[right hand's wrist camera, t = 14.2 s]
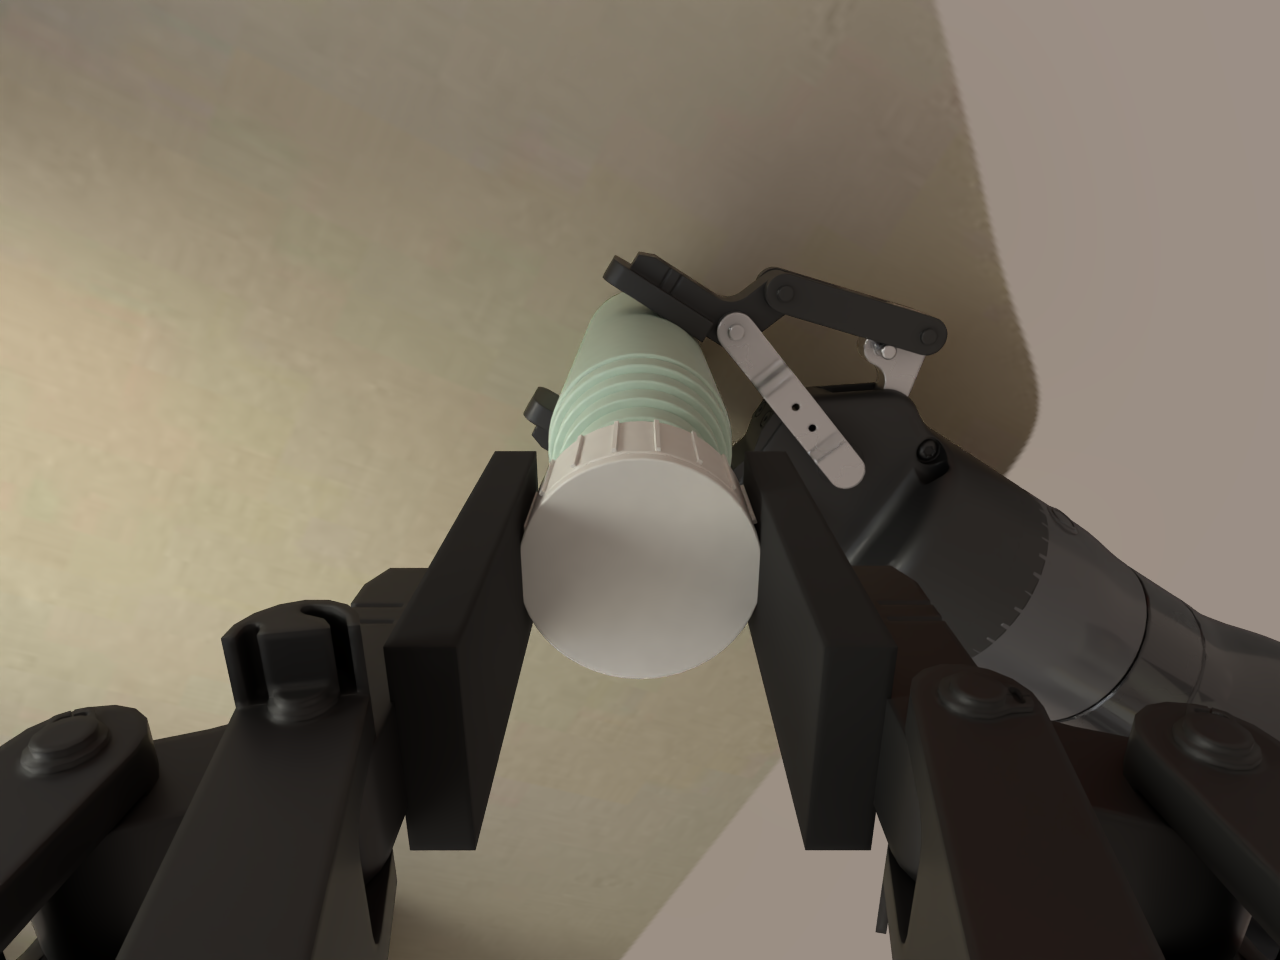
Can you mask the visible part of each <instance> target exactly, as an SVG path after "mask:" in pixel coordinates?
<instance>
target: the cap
mask: <svg viewBox="0 0 1280 960" xmlns="http://www.w3.org/2000/svg"><path fill="white" fill-rule="evenodd" d="M756 523H757V520H756V517H755V515H754V512H753V509H752V506H751V504H750V501H749V498H748V495H747V493H746V490H745V487H744V485H740V484H739V482H738V480H737V477H736V475H735V474H734V472H733V470H732V469H731V467H730V466H729V464H728V461H727V458H726V456H725V455H724V454H722V455H720V454H719V453H718V452H717V451H716V450H715V449H714V448H713V447H712V446H710V445H709V444H708V443H707V442H705V441H704V440H702V439H701V438H699V437H698V436H697V434H696V432H694V431H692V432H691V433H690V432H688V431H686V430H684V429H681V428H678V427H675V426H672V425H668V424H663V423H659V420H655V419H654V422H648V421H633V422H632V421H630V422H623V423H619V421H614V424H612V425H609V426H606V427H603V428H600V429H597V430H595V431H593V432H591V433H589V434H587V435H585V436H582V434H581V435H579V436H578V438H577V441H575V442H574V443H573V444H571V445H570V446H569V447H568V448H567V449H566V450H564V451H563V452H562V453H561V454H560V456H559V457H558V458H557V459H556V460H553V459H552V460H551V461H550V463H549V466H548V469H547V472H546V475H545V477H544V479H543V481H542V483H541V485H540V488H539V491H538V492H537V491H536V493H535V496H534V499H533V502H532V505H531V507H530V510H529V513H528V516H527V519H526V522H525V524H524V534H523V537H522V540H521V544H520V547H521V566H522V583H523V599H524V605H525V607H526V610H527V612H528V614H529V616H530V618H531V619H532V621H533V623H534V624H535V626H536V628H537V629H538V630H539V631H540V633H541V634H542V635H543V636H544V638H545V639H546V640H547V641H548V642H549V643H550V644H551V645H552V646H554V647H555V648H556V649H557V650H558V651H559V652H561V653H562V654H563V655H565V656H566V657H568V658H569V659H571V660H573V661H574V662H576V663H578V664H580V665H581V666H584V667H586V668H589V669H591V670H593V671H596V672H599V673H603V674H606V675H610V676H615V677H621V678H631V679H650V678H659V677H666V676H671V675H674V674H678V673H682V672H685V671H687V670H690V669H692V668H695V667H697V666H699V665H701V664H703V663H705V662H706V661H708V660H710V659H712V658H713V657H714V656H716V655H717V654H719V653H720V652H721V651H723V650H724V649H725V648H726V647H727V646H728V645H729V644H730V643H731V642H732V641H734V639H735V638H736V637H737V636H738V635H739V633H740V632H741V631H742V630H743V628H744V627H745V625H746V624H747V622H748V620H749V619H750V617H751V615H752V613H753V611H754V609H755V607H756V605H757V597H758V581H759V564H760V541H759V538H758V535H757V531H756V529H755V526H754V524H756Z"/></svg>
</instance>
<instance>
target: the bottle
mask: <svg viewBox="0 0 1280 960" xmlns="http://www.w3.org/2000/svg"><path fill="white" fill-rule="evenodd" d="M654 419H655V420H659V423H663V424H668V425H672V426H675V427H678V428H681V429H684V430H686V431H688V432H690V433H691V432H692V431H694V432H696V434H697V436H698V437H699V438H701V439H702V440H704V441H705V442H707V443H708V444H709V445H710V446H712V447H713V448H714V449H715V450H716V451H717V452H718V453H719V454H720V455H722V454H724V455H725V456H726V458H727V461H728V464H729V466H730V467H731V459H732V432H731V426H730V421H729V417H728V414H727V411H726V408H725V406H724V403H723V401H722V398H721V396H720V393H719V391H718V389H717V386H716V384H715V381H714V379H713V376H712V374H711V371H710V369H709V367H708V364H707V362H706V359H705V357H704V354H703V352H702V349H701V347H700V345H699V342H698V340H697V339H696V338H695V337H693V336H692V335H690V334H689V333H687V332H685V331H684V330H683V329H681V328H680V327H679V326H677V325H675V324H673V323H672V322H670V321H668V320H666V319H665V318H663V317H662V316H660V315H659V314H657V313H655V312H654V311H652V310H651V309H649V308H648V307H646V306H644V305H643V304H641V303H640V302H638V301H636V300H635V299H633V298H632V297H630V296H629V295H627V294H625V293H624V292H622V293H619V294H617V295H615V296H613V297H611V298H610V299H608V300H607V301H606V302H605V303H603V304H602V305H601V306H600V307H599V309H598V310H597V311H596V312H595V314H594V315H593V317H592V319H591V321H590V323H589V325H588V328H587V330H586V332H585V335H584V337H583V340H582V342H581V345H580V347H579V350H578V352H577V355H576V357H575V360H574V362H573V364H572V367H571V369H570V372H569V374H568V377H567V379H566V382H565V384H564V387H563V389H562V392H561V394H560V396H559V399H558V401H557V404H556V406H555V409H554V412H553V415H552V418H551V422H550V428H549V441H548V443H549V449H548V455H549V463H550V461H551V460H552V459H553V460H556V459H557V458H558V457H559V456H560V454H561V453H562V452H563V451H564V450H566V449H567V448H568V447H569V446H570V445H571V444H573V443H574V442H575V441H577V438H578V436H579V435H581V434H582V436H585V435H587V434H589V433H591V432H593V431H595V430H597V429H600V428H603V427H606V426H609V425H612V424H614V421H619V423H623V422H630V421H632V422H633V421H648V422H654Z"/></svg>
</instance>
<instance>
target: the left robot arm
mask: <svg viewBox="0 0 1280 960" xmlns="http://www.w3.org/2000/svg"><path fill="white" fill-rule="evenodd" d="M603 278H604V279H605V280H606V281H607V282H609V283H610V284H611V285H613V286H614V287H616V288H618V289H619V290H621V291H622V292H624V293H625V294H627V295H629V296H630V297H632V298H633V299H635V300H636V301H638V302H640V303H641V304H643V305H644V306H646V307H648V308H649V309H651V310H652V311H654V312H655V313H657V314H659V315H660V316H662V317H663V318H665V319H666V320H668V321H670V322H672V323H673V324H675V325H677V326H679V327H680V328H681V329H683V330H684V331H685V332H687V333H689V334H690V335H692V336H693V337H695V338H696V339H698V340H700V341H701V342H703V340H704V339H705V337H708V338H710V339H711V340H713V341H714V342H716V343H717V344H719V345H721V346H722V347H724V349H725V350H726V351H727V352H728V353H729V355H730V356H731V357H732V358H733V360H734V361H735V362H736V363H737V365H738V366H739V367H740V368H741V370H742V371H743V372H744V373H745V375H746V376H747V377H748V378H749V380H750V381H751V382H752V383H753V385H754V386H755V387H756V389H757V390H758V391H759V393H760V394H761V395H762V397H763V398H764V400H763V401H762V403H761V404H760V405H759V407H758V408H757V410H756V411H755V413H754V414H753V416H752V419H751V422H750V424H749V427H748V430H747V433H746V435H745V436H744V437H743V438H742V439H741V440H740V441H739V442H738V443H736V444H735V445H734V446H733V447H732V459H731V469H732V470H733V472H734V474H735V475H736V477H737V480H738V482H739V484H740V485H743V476H744V455H745V451H786V452H787V454H788V456H789V458H790V459H791V461H792V463H793V465H794V466H795V468H796V470H797V472H798V473H799V475H800V477H801V479H802V480H803V482H804V484H805V486H806V487H807V489H808V491H809V493H810V494H811V496H812V498H813V500H814V501H815V503H816V505H817V507H818V508H819V510H820V512H821V514H822V515H823V517H824V519H825V521H826V522H827V524H828V526H829V527H830V529H831V531H832V533H833V534H834V536H835V538H836V540H837V541H838V543H839V545H840V547H841V548H842V550H843V552H844V554H845V555H846V557H847V559H848V561H849V562H850V564H851V566H893V567H894V568H896V569H897V570H899V571H900V572H902V573H904V574H905V575H907V576H908V577H910V578H911V579H913V580H915V581H916V582H917V583H918V584H919V586H920V587H921V588H922V590H923V591H924V593H925V594H926V595H927V597H928V598H929V600H930V603H931V605H934V607H935V608H936V609H937V611H938V612H939V614H940V615H941V616H942V621H945V622H946V623H947V625H948V626H949V627H950V629H951V630H952V632H953V633H954V634H955V636H956V637H957V639H958V640H959V641H960V643H961V644H962V645H963V647H964V648H965V650H966V651H967V652H968V654H969V655H970V657H971V658H972V659H973V661H974V662H975V664H976V665H977V666H978V667H981V668H986V669H990V670H992V671H995V672H997V673H1000V674H1002V675H1005V676H1007V677H1010V678H1012V679H1014V680H1015V681H1017V682H1018V683H1020V684H1021V685H1023V686H1024V687H1026V688H1027V689H1029V690H1030V691H1032V692H1033V694H1034V695H1035V696H1036V697H1037V699H1038V700H1039V701H1040V702H1041V704H1042V705H1043V706H1044V708H1045V710H1046V712H1047V714H1048V716H1049V718H1050V720H1051V721H1055V722H1059V723H1063V724H1067V725H1071V726H1075V727H1080V728H1085V729H1090V730H1095V731H1100V732H1105V733H1110V734H1115V735H1120V736H1126V737H1129V736H1130V732H1131V728H1132V724H1133V721H1134V717H1135V714H1136V713H1138V712H1139V711H1140V710H1141V709H1142V708H1144V707H1145V706H1146V705H1150V704H1156V703H1161V702H1178V703H1190V704H1199V705H1204V706H1208V708H1212V707H1213V708H1216V709H1219V710H1222V711H1226V712H1228V713H1230V714H1231V715H1233V716H1235V717H1237V718H1239V719H1242V720H1244V721H1246V722H1249V723H1251V724H1253V725H1255V726H1257V727H1258V728H1260V729H1262V730H1263V731H1265V732H1266V733H1268V734H1269V735H1271V736H1272V737H1274V738H1275V739H1277V740H1279V741H1280V642H1278V641H1276V640H1273V639H1271V638H1268V637H1266V636H1263V635H1260V634H1257V633H1254V632H1251V631H1248V630H1245V629H1241V628H1238V627H1235V626H1231V625H1228V624H1225V623H1222V622H1220V621H1217V620H1214V619H1212V618H1209V617H1207V616H1204V615H1202V614H1200V613H1198V612H1197V611H1196V610H1194V609H1193V608H1192V607H1190V606H1189V605H1188V604H1186V603H1185V602H1183V601H1182V600H1180V599H1179V598H1177V597H1175V596H1174V595H1172V594H1171V593H1169V592H1168V591H1166V590H1164V589H1163V588H1161V587H1160V586H1158V585H1157V584H1155V583H1154V582H1152V581H1151V580H1149V579H1147V578H1146V577H1144V576H1143V575H1141V574H1140V573H1138V572H1137V571H1135V570H1134V569H1132V568H1130V567H1129V566H1127V565H1126V564H1125V563H1124V562H1122V561H1121V560H1119V559H1118V558H1117V557H1116V556H1114V555H1113V554H1112V553H1111V552H1110V551H1109V550H1108V549H1107V548H1105V547H1104V546H1103V545H1102V544H1101V543H1100V542H1099V541H1098V540H1097V539H1096V538H1095V537H1093V536H1092V535H1091V534H1090V533H1089V532H1087V531H1086V530H1085V529H1083V528H1082V527H1080V526H1079V525H1078V524H1076V523H1075V522H1073V521H1072V520H1070V519H1069V518H1068V517H1067V516H1066V515H1065V514H1064V513H1063V512H1061V511H1060V510H1058V509H1056V508H1053V507H1051V506H1049V505H1047V504H1046V503H1044V502H1042V501H1041V500H1039V499H1038V498H1036V497H1035V496H1033V495H1032V494H1030V493H1029V492H1027V491H1026V490H1024V489H1022V488H1020V487H1019V486H1018V485H1016V484H1015V483H1013V482H1012V481H1010V480H1009V479H1007V478H1006V477H1004V476H1003V475H1001V474H999V473H998V472H996V471H995V470H993V469H992V468H990V467H989V466H987V465H986V464H984V463H983V462H981V461H979V460H978V459H976V458H975V457H973V456H972V455H970V454H969V453H967V452H966V451H964V450H963V449H961V448H960V447H958V446H956V445H955V444H953V443H952V442H950V441H949V440H947V439H946V438H944V437H943V436H941V435H940V434H938V433H936V432H935V431H933V430H932V429H930V428H929V427H927V426H926V425H925V424H924V422H923V421H922V419H921V417H920V415H919V413H918V411H917V408H916V406H915V404H914V403H913V402H912V400H911V399H910V398H909V397H908V396H909V394H910V392H911V389H912V387H913V385H914V382H915V380H916V377H917V375H918V373H919V370H920V368H921V365H922V363H923V361H924V358H925V356H926V355H932V354H934V353H936V352H938V351H939V350H940V349H941V348H942V347H943V346H944V344H945V342H946V339H947V329H946V326H945V325H944V323H943V322H942V321H941V320H939V319H937V318H935V317H932V316H930V315H927V314H925V313H922V312H920V311H917V310H915V309H912V308H910V307H906V306H903V305H900V304H896V303H893V302H890V301H887V300H883V299H880V298H877V297H873V296H870V295H867V294H864V293H860V292H857V291H854V290H850V289H847V288H844V287H841V286H837V285H834V284H831V283H827V282H824V281H821V280H818V279H814V278H811V277H808V276H804V275H801V274H798V273H795V272H791V271H788V270H785V269H782V268H778V267H769V268H767V269H765V270H763V271H762V272H761V273H760V274H759V275H758V277H757V279H756V281H754V282H753V283H752V284H751V285H749V286H748V287H747V288H745V289H744V290H743V291H741V292H740V293H738V294H736V295H734V296H729V297H724V296H720V295H717V294H715V293H713V292H712V291H710V290H709V289H707V288H706V287H704V286H703V285H701V284H699V283H698V282H696V281H695V280H693V279H692V278H690V277H689V276H687V275H686V274H684V273H683V272H681V271H679V270H678V269H676V268H675V267H673V266H672V265H670V264H669V263H667V262H666V261H664V260H663V259H661V258H659V257H658V256H656V255H655V254H649V253H644V252H638V254H637V255H636V257H635V259H634V260H633V262H632V264H630V263H628V262H627V261H625V260H624V259H622V258H620V257H618V256H616V255H615V256H614V258H613V259H612V261H611V263H610V265H609V266H608V268H607V270H606V271H605V273H604V275H603ZM784 315H789V316H792V317H796V318H799V319H802V320H806V321H809V322H812V323H816V324H819V325H822V326H826V327H829V328H832V329H836V330H839V331H842V332H846V333H849V334H852V335H856V336H859V337H858V340H857V350H858V353H859V354H860V355H861V356H862V357H863V358H864V359H866V360H867V361H868V362H870V363H871V364H873V365H874V366H875V368H876V370H877V380H876V382H873V383H859V384H844V385H830V386H816V387H804V386H803V384H802V383H801V382H800V380H799V379H798V378H797V377H796V375H795V374H794V373H793V372H792V370H791V369H790V368H789V367H788V365H787V364H786V363H785V362H784V360H783V359H782V358H781V357H780V355H779V354H778V353H777V352H776V350H775V349H774V348H773V346H772V345H771V344H770V343H769V341H768V340H767V339H766V337H765V336H764V335H763V334H762V331H764V330H765V329H766V328H768V327H769V326H770V325H772V324H773V323H774V322H776V321H777V320H778V319H780V318H781V317H782V316H784ZM558 399H559V395H557V394H556V393H554V392H552V391H550V390H548V389H546V388H544V387H538V388H537V390H536V392H535V394H534V395H533V397H532V399H531V400H530V402H529V404H528V406H527V408H526V409H525V411H524V416H525V417H526V418H527V419H528V420H529V421H530V422H532V423H533V424H535V425H536V427H535V429H534V431H533V433H532V436H533V437H534V438H535V440H536V441H537V442H538V443H539V444H540V446H541V447H542V448H544V449H546V450H547V451H548V449H549V443H548V441H549V428H550V422H551V418H552V415H553V412H554V409H555V406H556V404H557V401H558ZM1245 935H1246V936H1247V937H1248V939H1249V940H1250V941H1251V942H1252V943H1253V944H1254V945H1255V947H1256V948H1257V949H1258V950H1259V951H1260V952H1261V953H1262V954H1264V955H1265V956H1266V957H1267V958H1268V959H1269V960H1275V959H1276V957H1277V954H1278V952H1279V949H1280V947H1279V945H1278V944H1277V943H1276V942H1275V941H1274V940H1273V939H1272V938H1271V937H1270V935H1269V934H1268V933H1267V932H1266V931H1265V930H1264V929H1263V928H1262V927H1261V926H1260V924H1259V923H1258V922H1257V921H1256V920H1255V919H1254V918H1253V917H1251V920H1250V922H1249V925H1248V928H1247V930H1246V933H1245Z"/></svg>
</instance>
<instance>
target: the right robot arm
mask: <svg viewBox="0 0 1280 960" xmlns="http://www.w3.org/2000/svg"><path fill="white" fill-rule="evenodd" d="M743 485H744V487H745V490H746V493H747V495H748V498H749V501H750V504H751V506H752V509H753V512H754V515H755V517H756V520H757V523H756V524H754V526H755V529H756V531H757V535H758V538H759V541H760V564H759V581H758V597H757V605H756V607H755V609H754V611H753V613H752V615H751V617H750V619H749V620H748V624H749V628H750V632H751V636H752V640H753V644H754V648H755V652H756V656H757V660H758V664H759V668H760V672H761V676H762V680H763V684H764V688H765V692H766V696H767V700H768V704H769V708H770V712H771V716H772V720H773V724H774V727H775V731H776V735H777V739H778V743H779V747H780V751H781V755H782V759H783V763H784V767H785V771H786V775H787V779H788V783H789V787H790V791H791V795H792V799H793V803H794V807H795V810H796V815H797V819H798V823H799V827H800V831H801V835H802V839H803V842H804V846H805V850H871V845H872V837H873V830H874V822H875V815H876V813H877V815H878V818H879V821H880V823H881V826H882V828H883V831H884V834H885V836H886V839H887V841H888V849H887V856H886V863H885V870H884V877H883V884H882V890H881V897H880V904H879V911H878V918H877V926H876V932H878V933H884V934H886V931H887V925H888V926H889V934H890V942H891V950H892V959H893V960H1269V959H1268V958H1267V957H1266V956H1265V955H1264V954H1262V953H1261V952H1260V951H1259V950H1258V949H1257V948H1256V947H1255V945H1254V944H1253V943H1252V942H1251V941H1250V940H1249V939H1248V937H1247V936H1246V935H1245V933H1246V930H1247V928H1248V925H1249V922H1250V920H1251V917H1253V918H1254V919H1255V920H1256V921H1257V922H1258V923H1259V924H1260V926H1261V927H1262V928H1263V929H1264V930H1265V931H1266V932H1267V933H1268V934H1269V935H1270V937H1271V938H1272V939H1273V940H1274V941H1275V942H1276V943H1277V944H1278V945H1279V947H1280V741H1279V740H1277V739H1275V738H1274V737H1272V736H1271V735H1269V734H1268V733H1266V732H1265V731H1263V730H1262V729H1260V728H1258V727H1257V726H1255V725H1253V724H1251V723H1249V722H1246V721H1244V720H1242V719H1239V718H1237V717H1235V716H1233V715H1231V714H1230V713H1228V712H1226V711H1222V710H1219V709H1216V708H1213V707H1212V708H1208V706H1204V705H1199V704H1190V703H1178V702H1161V703H1156V704H1150V705H1146V706H1145V707H1144V708H1142V709H1141V710H1140V711H1139V712H1138V713H1136V714H1135V717H1134V721H1133V724H1132V728H1131V732H1130V736H1129V737H1126V736H1120V735H1115V734H1110V733H1105V732H1100V731H1095V730H1090V729H1085V728H1080V727H1075V726H1071V725H1067V724H1063V723H1059V722H1055V721H1051V720H1050V718H1049V716H1048V714H1047V712H1046V710H1045V708H1044V706H1043V705H1042V704H1041V702H1040V701H1039V700H1038V699H1037V697H1036V696H1035V695H1034V694H1033V692H1032V691H1030V690H1029V689H1027V688H1026V687H1024V686H1023V685H1021V684H1020V683H1018V682H1017V681H1015V680H1014V679H1012V678H1010V677H1007V676H1005V675H1002V674H1000V673H997V672H995V671H992V670H990V669H986V668H981V667H978V666H977V665H976V664H975V662H974V661H973V659H972V658H971V657H970V655H969V654H968V652H967V651H966V650H965V648H964V647H963V645H962V644H961V643H960V641H959V640H958V639H957V637H956V636H955V634H954V633H953V632H952V630H951V629H950V627H949V626H948V625H947V623H946V622H945V621H942V616H941V615H940V614H939V612H938V611H937V609H936V608H935V607H934V605H931V603H930V600H929V598H928V597H927V595H926V594H925V593H924V591H923V590H922V588H921V587H920V586H919V584H918V583H917V582H916V581H915V580H913V579H911V578H910V577H908V576H907V575H905V574H904V573H902V572H900V571H899V570H897V569H896V568H894V567H893V566H851V564H850V562H849V561H848V559H847V557H846V555H845V554H844V552H843V550H842V548H841V547H840V545H839V543H838V541H837V540H836V538H835V536H834V534H833V533H832V531H831V529H830V527H829V526H828V524H827V522H826V521H825V519H824V517H823V515H822V514H821V512H820V510H819V508H818V507H817V505H816V503H815V501H814V500H813V498H812V496H811V494H810V493H809V491H808V489H807V487H806V486H805V484H804V482H803V480H802V479H801V477H800V475H799V473H798V472H797V470H796V468H795V466H794V465H793V463H792V461H791V459H790V458H789V456H788V454H787V452H786V451H745V455H744V476H743ZM536 491H537V492H538V478H537V457H536V451H495V452H494V454H493V456H492V458H491V459H490V461H489V463H488V465H487V466H486V468H485V470H484V472H483V473H482V475H481V477H480V478H479V480H478V482H477V484H476V485H475V487H474V489H473V491H472V492H471V494H470V496H469V498H468V499H467V501H466V503H465V505H464V506H463V508H462V510H461V512H460V513H459V515H458V517H457V519H456V520H455V522H454V524H453V526H452V527H451V529H450V531H449V533H448V534H447V536H446V538H445V540H444V541H443V543H442V545H441V547H440V548H439V550H438V552H437V554H436V555H435V557H434V559H433V561H432V562H431V564H430V566H429V568H389V569H388V570H386V571H385V572H383V573H382V574H380V575H379V576H377V577H375V578H374V579H372V580H371V581H369V582H368V583H366V584H365V585H364V586H363V587H362V589H361V590H360V592H359V593H358V594H357V596H356V597H355V599H354V600H353V601H352V603H351V607H350V606H349V605H347V604H343V603H339V602H335V601H331V600H303V601H297V602H291V603H285V604H279V605H277V606H274V607H271V608H268V609H265V610H262V611H259V612H256V613H254V614H252V615H250V616H249V617H247V618H245V619H243V620H241V621H240V622H238V623H236V624H234V625H233V626H232V627H231V628H230V629H229V630H228V632H227V633H226V634H225V635H224V636H223V637H222V638H221V641H222V646H223V650H224V655H225V659H226V664H227V669H228V673H229V678H230V682H231V687H232V692H233V696H234V701H235V705H236V709H235V711H234V713H233V715H232V717H231V719H230V721H229V724H227V725H223V726H220V727H216V728H212V729H208V730H203V731H198V732H193V733H188V734H183V735H178V736H173V737H168V738H163V739H158V740H153V739H152V735H151V731H150V728H149V724H148V720H147V718H146V717H145V716H144V715H143V714H142V713H140V712H139V711H138V710H137V709H135V708H129V707H124V706H118V705H109V706H98V707H86V708H81V709H76V710H74V711H73V712H71V711H68V712H65V713H62V714H58V715H56V716H53V717H52V718H50V719H49V720H46V721H44V722H42V723H39V724H37V725H35V726H33V727H30V728H28V729H26V730H25V731H23V732H22V733H20V734H19V735H17V736H16V737H14V738H13V739H11V740H9V741H8V742H6V743H5V744H3V745H2V746H1V747H0V960H6V959H5V956H4V954H3V950H4V949H5V948H6V947H7V946H8V945H9V944H10V943H11V941H12V940H13V939H14V938H15V937H16V936H17V935H18V934H19V933H20V931H21V930H22V929H23V928H24V927H25V926H26V925H27V924H28V923H29V921H30V920H31V922H32V924H33V927H34V930H35V932H36V935H37V938H36V940H35V941H34V942H33V943H32V944H31V945H30V947H29V948H28V949H27V950H26V951H25V952H24V953H23V954H22V955H21V956H20V957H18V958H17V959H16V960H388V952H389V944H390V936H391V927H392V919H393V911H394V903H395V894H396V886H397V877H396V870H395V863H394V856H393V849H392V848H393V845H394V843H395V840H396V837H397V835H398V832H399V830H400V827H401V824H402V822H403V819H404V816H406V823H407V831H408V838H409V845H410V850H476V846H477V842H478V838H479V834H480V830H481V826H482V822H483V818H484V814H485V810H486V806H487V802H488V798H489V795H490V791H491V787H492V783H493V779H494V775H495V771H496V767H497V763H498V759H499V755H500V751H501V747H502V743H503V739H504V735H505V731H506V727H507V723H508V719H509V715H510V711H511V707H512V703H513V699H514V695H515V691H516V687H517V683H518V679H519V675H520V671H521V667H522V664H523V660H524V656H525V652H526V648H527V644H528V640H529V636H530V632H531V628H532V624H533V621H532V619H531V618H530V616H529V614H528V612H527V610H526V607H525V605H524V599H523V583H522V566H521V547H520V544H521V540H522V537H523V534H524V524H525V522H526V519H527V516H528V513H529V510H530V507H531V505H532V502H533V499H534V496H535V493H536ZM1275 960H1280V949H1279V952H1278V954H1277V957H1276V959H1275Z"/></svg>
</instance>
